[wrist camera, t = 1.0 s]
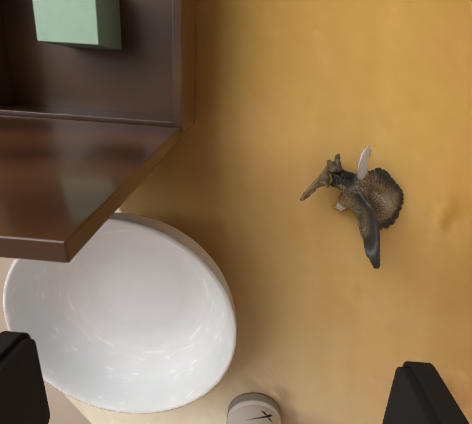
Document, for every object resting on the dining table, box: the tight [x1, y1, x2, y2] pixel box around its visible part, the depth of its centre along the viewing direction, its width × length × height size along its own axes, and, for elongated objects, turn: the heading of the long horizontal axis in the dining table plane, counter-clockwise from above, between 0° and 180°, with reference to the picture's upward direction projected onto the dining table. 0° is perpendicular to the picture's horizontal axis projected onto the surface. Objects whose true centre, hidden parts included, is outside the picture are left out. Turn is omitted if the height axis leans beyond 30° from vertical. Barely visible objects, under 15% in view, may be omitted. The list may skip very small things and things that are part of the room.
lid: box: [0, 115, 180, 263], centre depth 19 cm, size 16×16×5 cm
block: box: [33, 0, 122, 50], centre depth 26 cm, size 4×4×4 cm
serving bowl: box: [3, 213, 237, 414], centre depth 34 cm, size 21×21×7 cm
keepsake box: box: [0, 0, 198, 132], centre depth 26 cm, size 15×16×6 cm
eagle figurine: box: [300, 146, 403, 269], centre depth 29 cm, size 8×7×9 cm
